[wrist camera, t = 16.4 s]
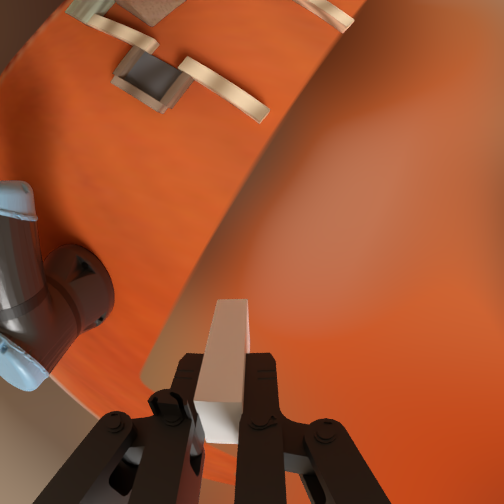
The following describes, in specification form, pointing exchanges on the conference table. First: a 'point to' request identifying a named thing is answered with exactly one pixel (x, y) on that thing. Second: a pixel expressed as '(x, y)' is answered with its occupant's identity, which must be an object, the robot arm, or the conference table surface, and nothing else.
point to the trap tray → (171, 79)
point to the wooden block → (150, 9)
